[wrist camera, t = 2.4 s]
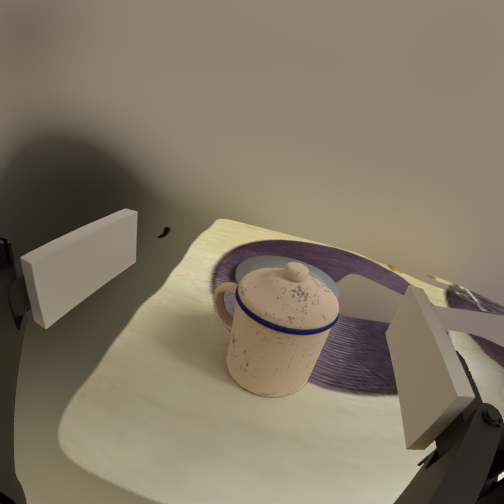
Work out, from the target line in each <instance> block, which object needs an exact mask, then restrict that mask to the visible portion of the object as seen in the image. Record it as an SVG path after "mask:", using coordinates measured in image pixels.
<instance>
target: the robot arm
mask: <svg viewBox="0 0 504 504" xmlns="http://www.w3.org/2000/svg"><path fill="white" fill-rule="evenodd" d="M136 233H137V211H133V210H129V209H123V210H121V211H118V212H116V213H114V214H111V215H109V216H107V217H104V218H102V219H99V220H97V221H95V222H92V223H90V224H88V225H86V226H83V227H81V228H79V229H77V230H75V231H73V232H70V233H68V234H66V235H64V236H62V237H60V238H58V239H55V240H53V241H52V242H49V243H47V244H45V245H43V246H41V247H39V248H37V249H35V250H33V251H31V252H29V253H27V254H26V255H24V256H22V257H21V258H20V259H18V260H17V261H15V262H14V257H13V251H12V244H11V240H10V238H8V237H3V236H0V504H26V498H25V494H24V491H23V489H22V486H21V484H20V482H19V481H18V479H17V477H16V473H15V466H14V407H15V395H16V384H17V376H18V369H19V362H20V355H21V350H22V344H23V339H24V334H25V330H26V325H27V314H26V312H27V311H28V310H30V309H31V310H32V314H33V317H34V321H35V322H37V323H38V324H39V325H41V326H42V327H44V328H45V329H47V328H48V327H49V326H51V325H52V324H53V323H54V322H56V321H57V320H58V319H60V318H61V317H62V316H63V315H65V314H66V313H67V312H68V311H70V310H71V309H72V308H74V307H75V306H76V305H78V304H79V303H80V302H81V301H83V300H84V299H85V298H87V297H88V296H89V295H91V294H92V293H93V292H95V291H96V290H97V289H98V288H100V287H101V286H103V285H104V284H106V283H107V282H108V281H110V280H111V279H112V278H114V277H115V276H117V275H118V274H119V273H121V272H122V271H123V270H125V269H126V268H128V267H129V266H130V265H132V264H133V263H135V262H136ZM386 338H387V342H388V346H389V351H390V355H391V360H392V364H393V369H394V374H395V379H396V384H397V389H398V395H399V400H400V406H401V412H402V419H403V426H404V433H405V441H406V449H412V450H424V449H426V448H427V447H428V446H429V445H430V444H431V443H432V442H433V441H434V440H435V442H436V447H437V448H436V449H435V450H434V451H433V452H431V453H430V454H429V455H428V456H427V457H426V458H424V459H423V460H422V461H421V462H420V463H419V464H418V466H420V465H422V464H423V463H424V464H423V466H422V467H421V468H420V470H419V471H418V473H417V474H416V476H415V477H414V478H413V480H412V481H411V482H410V484H409V485H408V486H407V488H406V489H405V490H404V491H403V493H402V494H401V495H400V496H399V498H398V499H397V500H396V501H395V502H394V504H504V478H502V479H501V480H500V481H498V475H499V474H501V473H502V472H503V471H504V423H503V419H502V416H501V414H500V412H499V411H498V410H497V409H496V408H495V407H494V406H492V405H490V404H488V403H483V402H482V399H481V397H480V394H479V392H478V389H477V387H476V384H475V382H474V380H473V379H472V375H471V373H470V371H468V370H469V369H468V366H467V364H466V362H465V360H464V359H463V357H462V356H461V355H460V354H459V353H458V351H456V350H455V349H454V347H453V345H452V343H451V341H450V339H449V337H448V335H447V333H446V331H445V329H444V327H443V325H442V323H441V321H440V319H439V318H438V316H437V314H436V312H435V310H434V308H433V306H432V305H431V303H430V301H429V299H428V297H427V296H426V294H425V292H424V290H423V289H421V288H418V287H414V286H411V285H409V286H408V288H407V291H406V293H405V295H404V297H403V299H402V301H401V304H400V306H399V308H398V310H397V312H396V314H395V316H394V318H393V320H392V322H391V324H390V326H389V328H388V330H387V332H386Z"/></svg>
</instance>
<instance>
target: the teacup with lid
mask: <svg viewBox="0 0 504 504" xmlns="http://www.w3.org/2000/svg"><path fill="white" fill-rule="evenodd" d="M308 274H309V270H308V268H307V267H306V266H305V265H304V264H301V263H298V262H290V263H288V264H286V266H285V268H262V269H258V270H254V271H252V272H250V273H248V274H247V275H245V276H244V277H243V278H242V279H241V281H240V282H239V284H236V283H232V282H227V283H224V284H222V285H220V286H218V287H217V288H216V290H215V292H214V296H213V303H214V309H215V312H216V314H217V316H218V318H219V320H220V321H221V322H222V323H223V324H224V325H225V326H226V327H227V328H228V329H230V330H231V335H230V340H229V345H228V351H227V357H226V364H227V368H228V371H229V373H230V375H231V376H232V377H233V379H234V380H235V381H236V382H237V383H238V384H239V385H240V386H242V387H243V388H245V389H246V390H248V391H250V392H253V393H255V394H258V395H262V396H267V397H282V396H287V395H290V394H293V393H295V392H297V391H298V390H300V389H301V388H302V387H303V386H304V385H305V384H306V382H307V380H308V378H309V376H310V374H311V372H312V370H313V368H314V366H315V364H316V361H317V359H318V357H319V355H320V352H321V350H322V348H323V346H324V343H325V341H326V339H327V336H328V334H329V332H330V329H331V327H332V326H333V325H334V324H335V323H336V322H337V320H338V317H339V304H338V301H337V298H336V296H335V295H334V293H333V292H332V291H331V290H330V289H329V288H328V287H327V286H326V285H325V284H323V283H322V282H320V281H319V280H317V279H315V278H313V277H311V276H309V275H308ZM225 291H226V292H230V293H232V294H234V295H236V300H237V302H236V307H235V313H234V318H232V317H231V316H230V315H229V314H228V312H227V310H226V308H225V305H224V292H225Z"/></svg>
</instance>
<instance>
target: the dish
mask: <svg viewBox="0 0 504 504" xmlns="http://www.w3.org/2000/svg"><path fill="white" fill-rule="evenodd" d="M290 262H298V263H301V264H304V265H305V266H306V267H307V268H308V270H309V274H308V275H309V276H311V277H313V278H315V279H317V280H319V281H320V282H322V283H323V284H325V285H326V286H327V287H328V288H329V289H330V290H331V291H332V292H333V293H334V295H335V296H336V298H337V301H338V299H339V289H338V286H337V285H336V283H335V282H334V281H333V280H332V279H331V278H330V277H329V276H328V275H327V274H325V273H324V272H323V271H321V270H319V269H317V268H316V267H314V266H312V265H309V264H307V263H304V262H301V261H298V260H295V259H291V258H286V257H279V256H257V257H252V258H249V259H246V260H244V261H243V262H241V263H240V264H239V265H238V267H237V269H236V274H235V283H236V284H239V282H240V281H241V279H242V278H243V277H244V276H245V275H247V274H248V273H250V272H252V271H254V270H258V269H262V268H285V266H286V264H288V263H290Z"/></svg>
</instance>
